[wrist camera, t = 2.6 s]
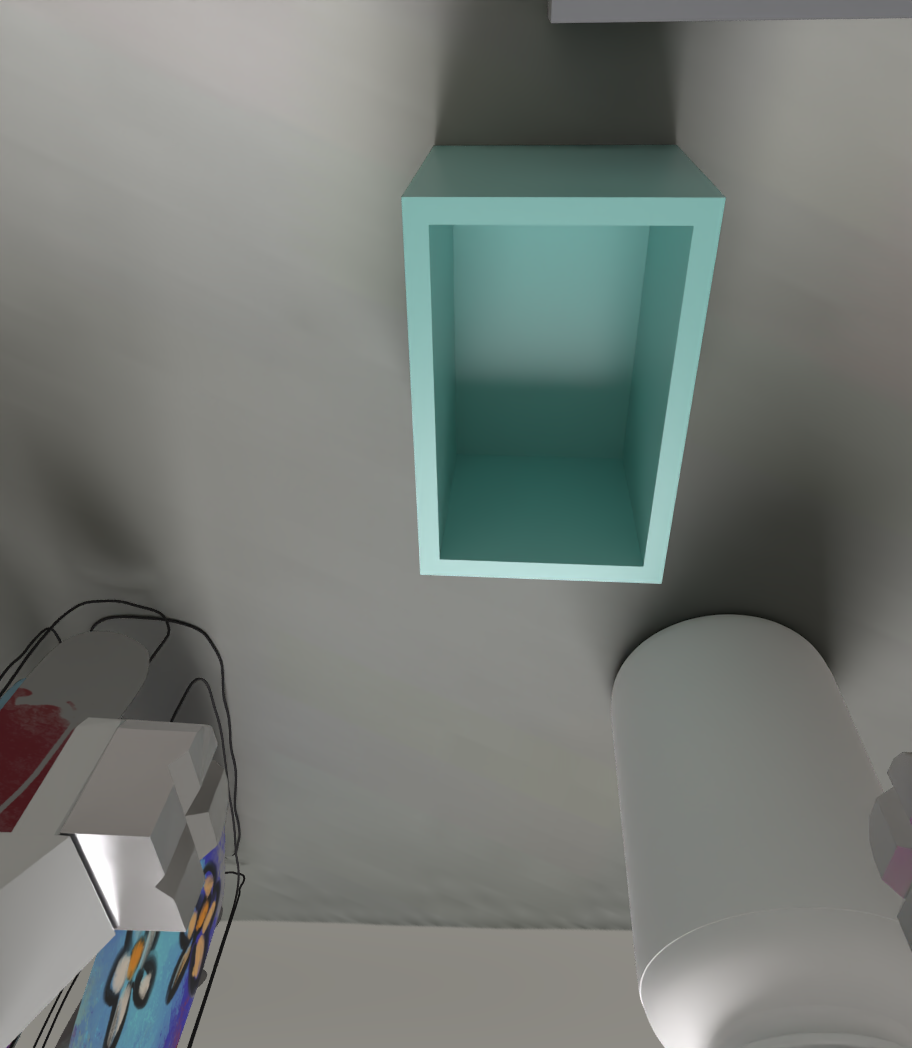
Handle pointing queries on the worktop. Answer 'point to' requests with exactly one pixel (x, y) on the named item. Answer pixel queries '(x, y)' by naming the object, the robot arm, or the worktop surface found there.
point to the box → (11, 782)
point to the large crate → (722, 10)
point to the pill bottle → (753, 846)
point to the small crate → (554, 354)
